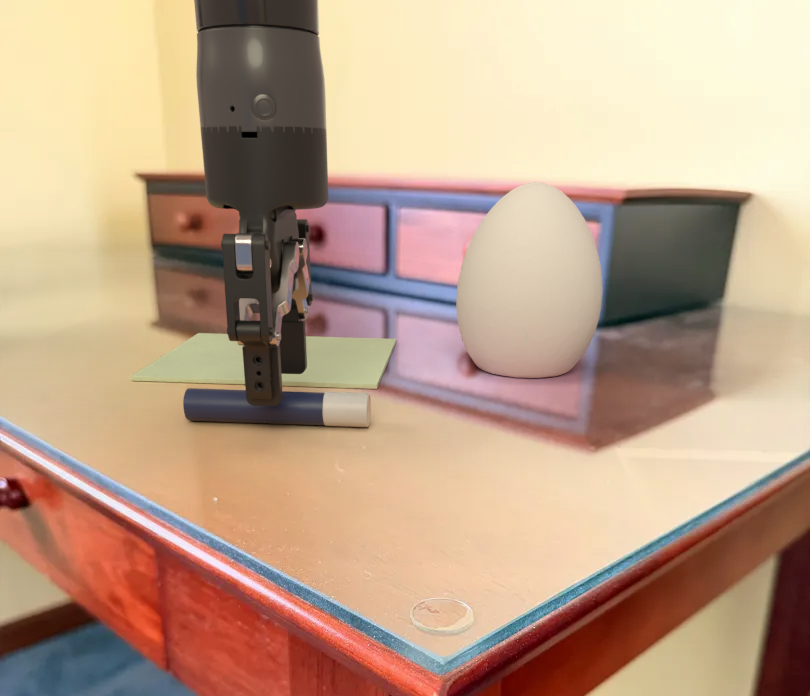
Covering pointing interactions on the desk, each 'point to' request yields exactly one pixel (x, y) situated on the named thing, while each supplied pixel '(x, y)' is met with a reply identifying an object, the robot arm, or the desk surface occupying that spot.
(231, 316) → the robot arm
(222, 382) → the desk mat
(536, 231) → the decorative egg
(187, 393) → the marker
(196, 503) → the desk surface
